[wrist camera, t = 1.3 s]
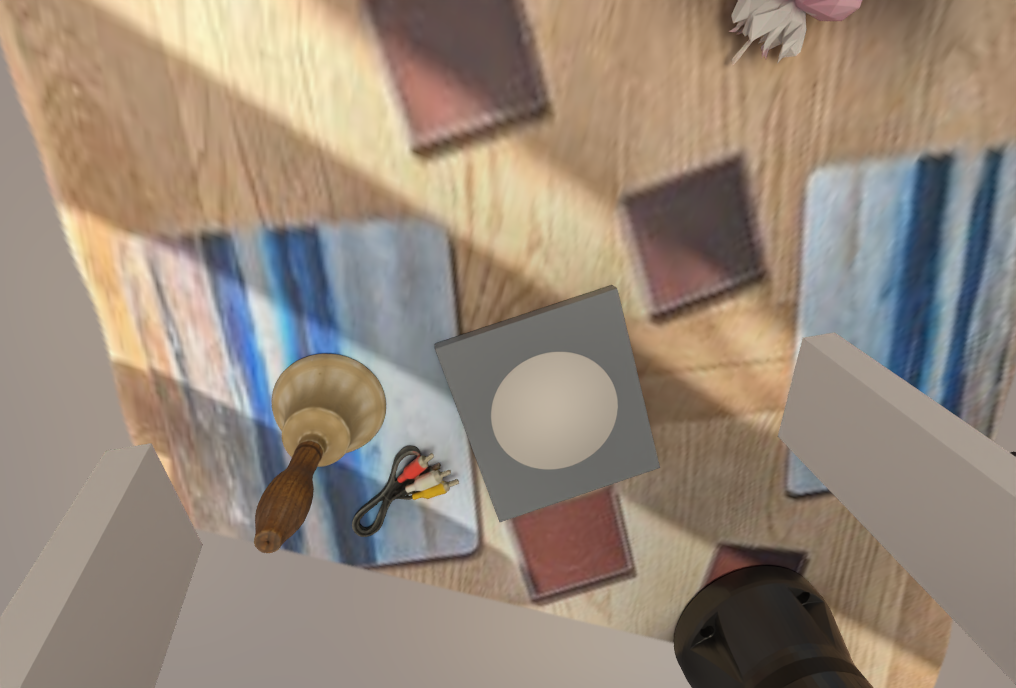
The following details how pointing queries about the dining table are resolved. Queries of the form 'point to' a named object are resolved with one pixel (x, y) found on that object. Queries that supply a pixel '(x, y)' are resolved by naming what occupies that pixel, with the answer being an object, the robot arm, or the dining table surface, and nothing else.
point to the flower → (784, 21)
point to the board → (551, 402)
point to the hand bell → (315, 434)
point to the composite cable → (405, 487)
